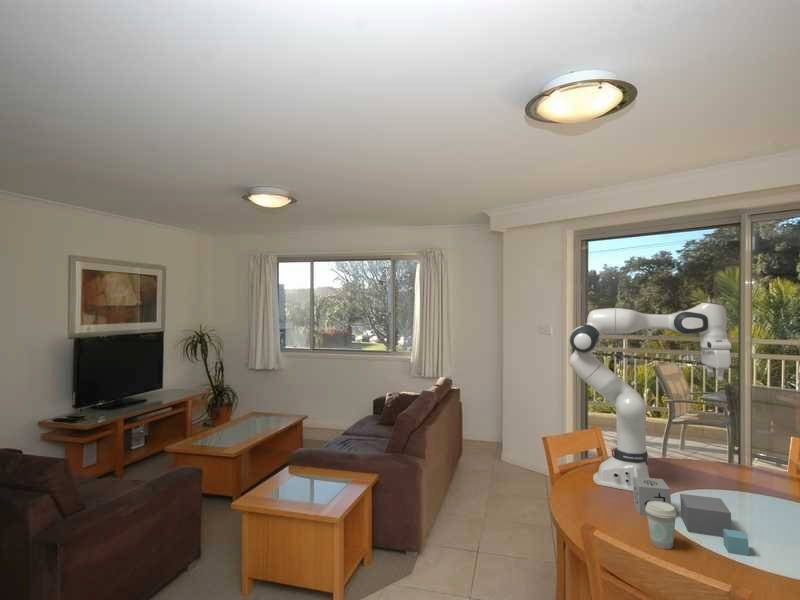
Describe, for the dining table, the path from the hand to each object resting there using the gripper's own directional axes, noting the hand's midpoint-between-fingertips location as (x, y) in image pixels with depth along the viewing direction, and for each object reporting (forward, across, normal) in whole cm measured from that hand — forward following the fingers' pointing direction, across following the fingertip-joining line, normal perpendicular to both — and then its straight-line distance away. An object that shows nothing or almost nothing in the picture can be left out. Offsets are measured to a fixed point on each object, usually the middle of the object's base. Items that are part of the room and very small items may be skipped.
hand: (715, 378), depth 175 cm
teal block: (+46, +44, -10) cm, 65 cm away
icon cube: (+46, +20, -28) cm, 58 cm away
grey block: (+46, +30, -14) cm, 57 cm away
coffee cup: (+46, +46, -30) cm, 72 cm away
